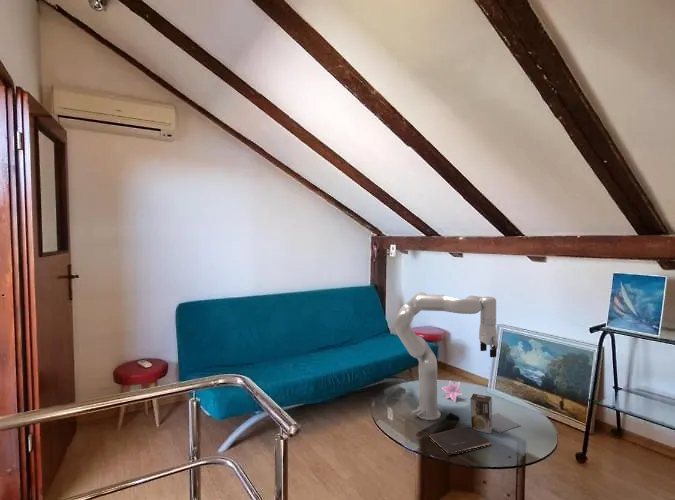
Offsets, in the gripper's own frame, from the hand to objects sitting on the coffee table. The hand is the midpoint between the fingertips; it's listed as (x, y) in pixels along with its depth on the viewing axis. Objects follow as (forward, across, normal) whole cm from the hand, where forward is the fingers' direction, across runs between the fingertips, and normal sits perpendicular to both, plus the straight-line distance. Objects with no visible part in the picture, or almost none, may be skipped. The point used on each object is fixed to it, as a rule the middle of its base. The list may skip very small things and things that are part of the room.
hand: (488, 353), depth 195 cm
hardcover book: (+36, +16, -23) cm, 46 cm away
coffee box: (+35, +8, -7) cm, 37 cm away
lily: (+36, -27, -8) cm, 45 cm away
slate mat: (+35, +4, +4) cm, 36 cm away
